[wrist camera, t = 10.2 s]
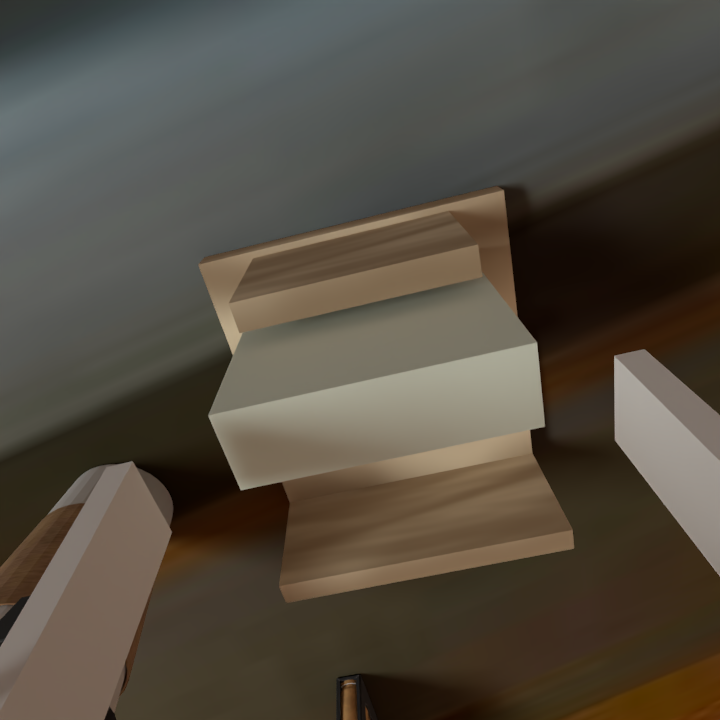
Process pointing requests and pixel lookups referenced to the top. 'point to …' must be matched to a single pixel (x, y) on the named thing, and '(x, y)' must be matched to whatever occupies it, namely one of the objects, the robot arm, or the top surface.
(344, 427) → the beige rectangular block
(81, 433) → the top surface
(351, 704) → the ammunition clip
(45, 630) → the robot arm
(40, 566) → the coffee cup
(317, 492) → the wooden shelf with pegs
